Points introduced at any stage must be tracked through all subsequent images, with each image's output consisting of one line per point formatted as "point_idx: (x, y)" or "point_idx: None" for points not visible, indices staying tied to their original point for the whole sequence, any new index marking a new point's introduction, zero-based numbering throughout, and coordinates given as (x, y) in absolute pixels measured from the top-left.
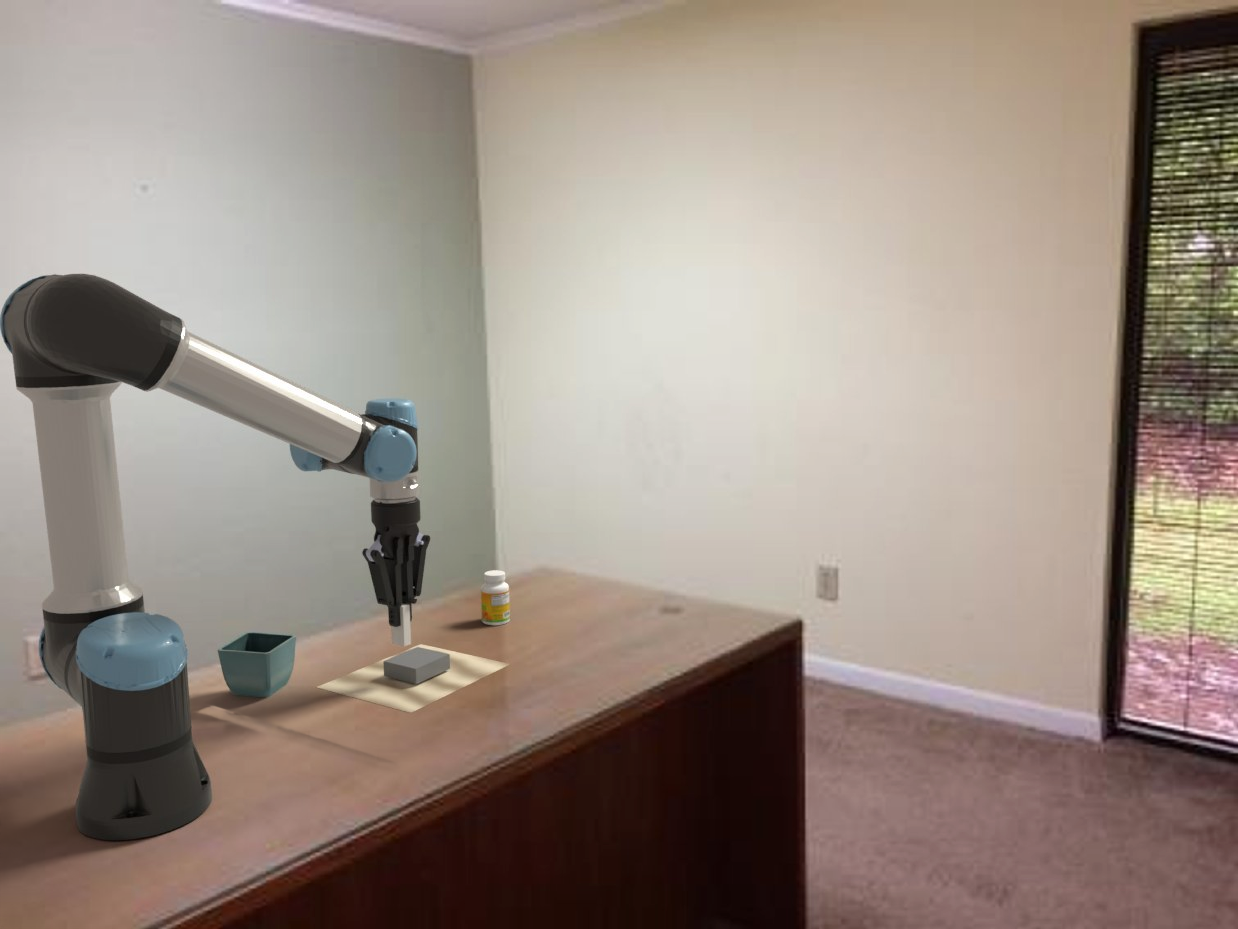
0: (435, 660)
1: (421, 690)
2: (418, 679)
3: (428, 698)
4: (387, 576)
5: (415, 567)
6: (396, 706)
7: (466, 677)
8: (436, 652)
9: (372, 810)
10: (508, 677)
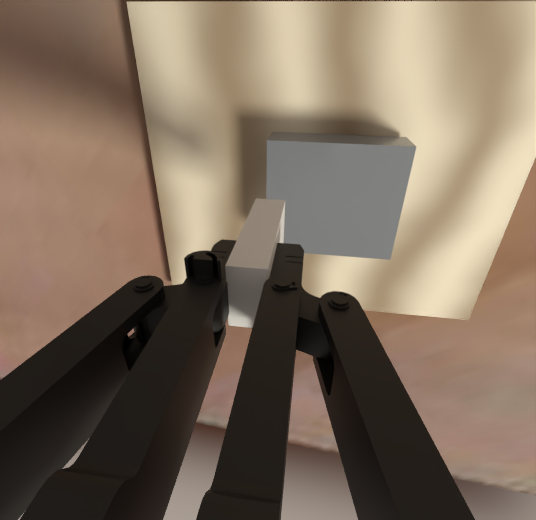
0: (335, 255)
1: None
2: None
3: None
4: (64, 458)
5: (354, 470)
6: (175, 258)
7: (360, 286)
8: (389, 224)
9: (9, 370)
10: (426, 320)
